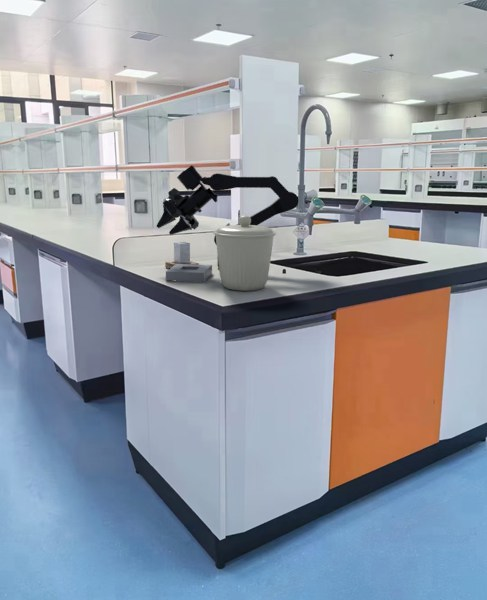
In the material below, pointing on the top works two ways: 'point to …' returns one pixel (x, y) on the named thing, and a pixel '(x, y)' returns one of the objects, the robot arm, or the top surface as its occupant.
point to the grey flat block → (189, 272)
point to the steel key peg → (182, 253)
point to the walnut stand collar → (171, 264)
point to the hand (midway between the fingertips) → (163, 230)
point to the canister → (244, 254)
